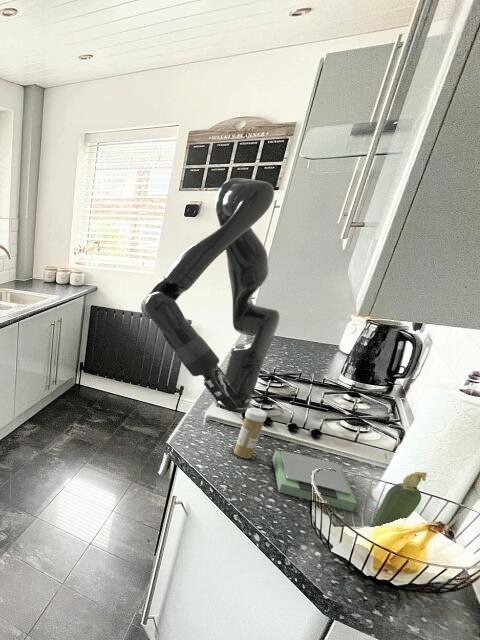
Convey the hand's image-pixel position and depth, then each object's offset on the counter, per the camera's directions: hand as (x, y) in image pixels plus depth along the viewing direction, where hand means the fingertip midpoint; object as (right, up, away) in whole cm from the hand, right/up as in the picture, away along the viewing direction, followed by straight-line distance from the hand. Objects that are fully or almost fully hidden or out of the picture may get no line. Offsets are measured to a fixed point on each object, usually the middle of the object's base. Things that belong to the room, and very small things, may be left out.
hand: (233, 402), depth 111 cm
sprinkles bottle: (+5, -15, +4) cm, 16 cm away
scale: (+14, -19, -7) cm, 25 cm away
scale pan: (+15, -17, -7) cm, 24 cm away
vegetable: (+12, -29, -26) cm, 41 cm away
